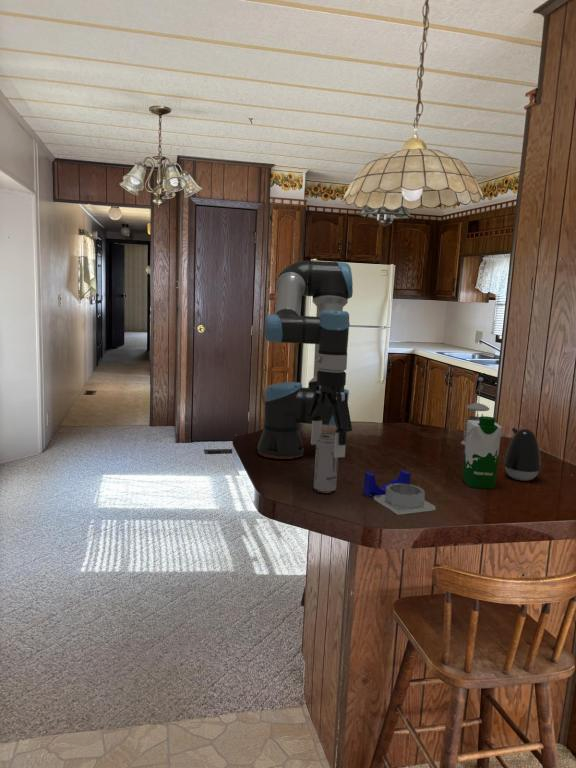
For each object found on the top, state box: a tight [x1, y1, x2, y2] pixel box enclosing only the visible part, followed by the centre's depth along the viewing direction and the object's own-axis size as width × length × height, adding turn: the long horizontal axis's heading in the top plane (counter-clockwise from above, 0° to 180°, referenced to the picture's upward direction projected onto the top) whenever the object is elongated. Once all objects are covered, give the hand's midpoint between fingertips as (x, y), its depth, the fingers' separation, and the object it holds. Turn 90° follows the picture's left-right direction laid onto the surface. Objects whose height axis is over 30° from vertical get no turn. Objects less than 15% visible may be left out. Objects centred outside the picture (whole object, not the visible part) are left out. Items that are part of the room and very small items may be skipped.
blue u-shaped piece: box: [362, 469, 412, 498], centre depth 154 cm, size 12×4×6 cm, turn 107°
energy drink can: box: [313, 433, 339, 492], centre depth 153 cm, size 6×6×15 cm
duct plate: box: [373, 483, 436, 516], centre depth 146 cm, size 11×11×4 cm
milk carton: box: [462, 415, 503, 490], centre depth 164 cm, size 9×9×20 cm
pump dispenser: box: [503, 427, 542, 482], centre depth 172 cm, size 10×10×15 cm
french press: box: [460, 377, 490, 446], centre depth 209 cm, size 10×12×25 cm
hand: (327, 450), depth 152 cm, fingers open, 13 cm apart
